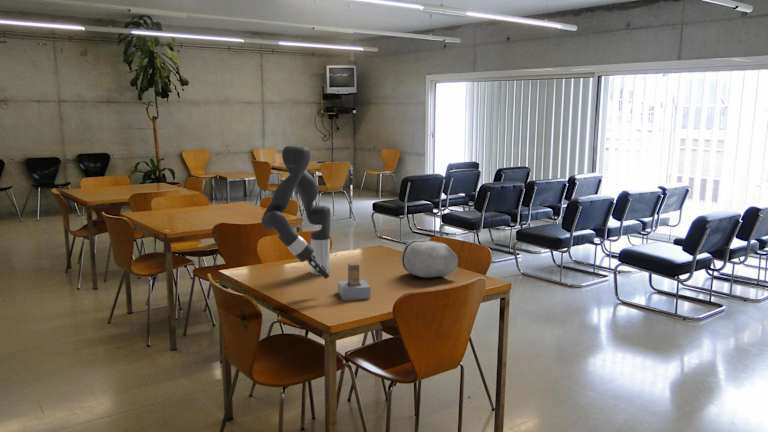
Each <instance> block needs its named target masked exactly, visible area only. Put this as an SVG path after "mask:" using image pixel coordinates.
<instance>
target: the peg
mask: <svg viewBox="0 0 768 432" xmlns="http://www.w3.org/2000/svg"><path fill="white" fill-rule="evenodd" d="M359 280H360V264H359V262H348V263H347V281H348V286H359Z"/></svg>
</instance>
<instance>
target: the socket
mask: <svg viewBox="0 0 768 432" xmlns="http://www.w3.org/2000/svg"><path fill="white" fill-rule="evenodd" d="M337 293H338V295H339V296H340V298H341V301H353V300H368V299H369V300H370V299H371V286H370V285H369V284H368V282H367V281H366V279H359V286H348V280H337Z"/></svg>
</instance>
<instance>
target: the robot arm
mask: <svg viewBox="0 0 768 432" xmlns="http://www.w3.org/2000/svg"><path fill="white" fill-rule="evenodd" d="M281 154H282V155H281V157H282V162H283V164H284V167H285V168H286V169H287V172H288V173H289V175H288V176H287V177H286V178H284V179H283V180H282V181H281V182H280V183H279V184H278V186H276V189H275V190H274V193H273V196H272V198H271V201H270V203H269V205H268V206H267V208H266V210H264V213H263V215H262V217H261V226H262V227H263V229H264V230H266V231H274V230H275V231H277V233H278V236H277V237H278V240H279V241H280V242H282V244H283V245H284V246H286V248H288V250H289V252H291V253H292V254H293V256H294V257H295V258H296V259H297V260H299V261H300V262H301V263H304V262H307V264H308V265H309V266H310V273H311V274H312V275H317V276H318V275H319V276H320V275H321V276H322V278H323V279H325V280H326V279H328V278H329V277H330V274H331V271H330V270H331V265H330V264H331V260H330V259H331V255H330V254H331V251H330V250H331V246H330V245H331V242H330V241H331V220H332V219H331V214H332V213H331V208H330V207H329V206H328V205H327V206H326V205H315V204H314V202H315V201H316V199H317V197H318V194H319V187H318V185H317V183H316V180H315V178H314V177H313V176H312V174H310V173H309V171H307V168H308V167H309V164H310V161H311V151H310V149H309V148H308V147H304V146H300V145H299V146H297V145H286V146H285V147H283V149H282V152H281ZM295 189H296V191H297V194H298V195H299V197H300V200H301V203H302V205H303V208H304V212H305V215H306V219H307V221H308V223H309V224H311V225H315V226H316V225H317V226H321V228H320V229H318V230H315V231H313V232H311V233H310V244H309V243H308V242H307V240H305V239H304V238H303V237H302V236H301V235H300V234H299V233H298V232H296V230H295V229H293V228H292V226H291V224H290V222H289V221H288V219H287V218H286V216H285V215H284V212H285V210H286V209H287V208H288V206H289V203H290V201H291V198H292V196H293V193H294V190H295Z"/></svg>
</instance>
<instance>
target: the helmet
mask: <svg viewBox="0 0 768 432" xmlns="http://www.w3.org/2000/svg"><path fill="white" fill-rule="evenodd" d="M458 263H459V258H458V255H457V254H456V253H455V252H454V251H453V249H451V247H450V246H448V245H447V244H445V242H440V241H435V240H428V239H415V240H410V241H409V242H408V243H407V244H406V245H405V246H404V248H403V250H402V253H401V264H402V268H403V269H404V270H405V272H407V273H408V274H411V275H413V276H415V277H416V276H417V277H421V278H425V279H426V278H435V277H439V278H440V277H441V278H443V277H444V278H445V277H448V276H450V275H452V274H454V273H455V272H456V271H457V269H458Z"/></svg>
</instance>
